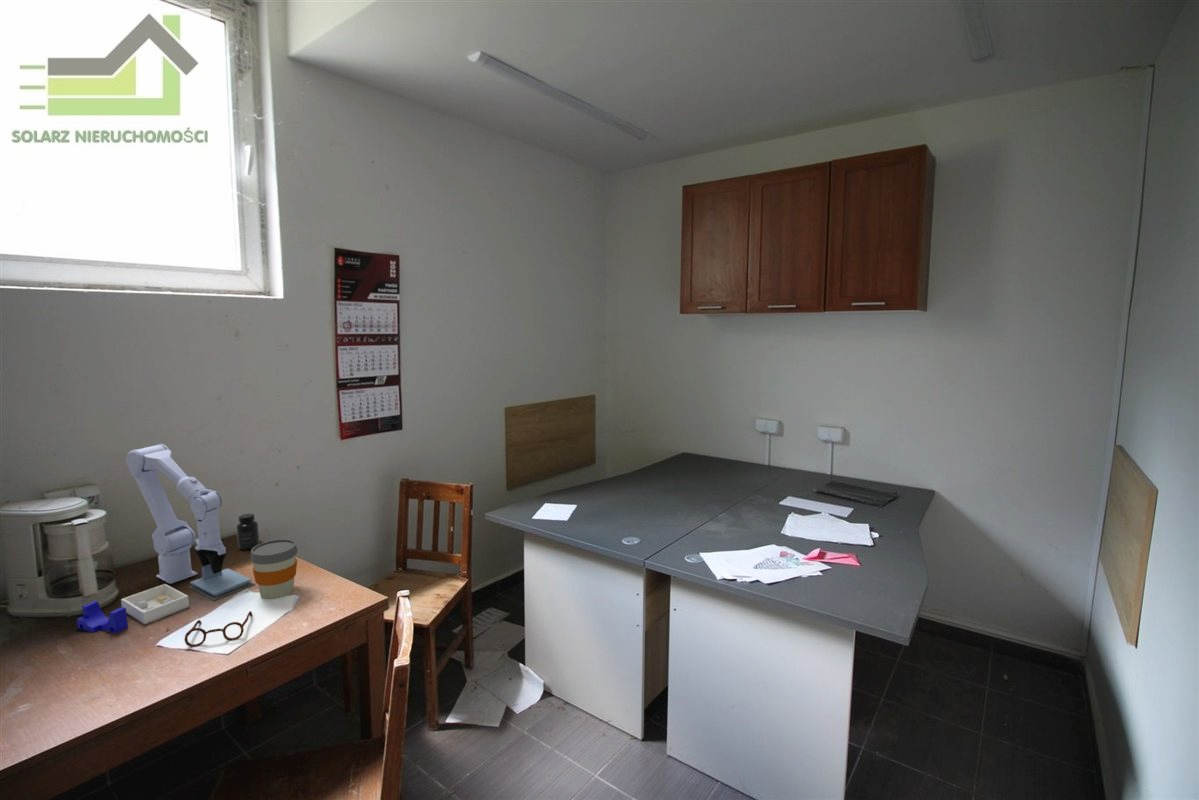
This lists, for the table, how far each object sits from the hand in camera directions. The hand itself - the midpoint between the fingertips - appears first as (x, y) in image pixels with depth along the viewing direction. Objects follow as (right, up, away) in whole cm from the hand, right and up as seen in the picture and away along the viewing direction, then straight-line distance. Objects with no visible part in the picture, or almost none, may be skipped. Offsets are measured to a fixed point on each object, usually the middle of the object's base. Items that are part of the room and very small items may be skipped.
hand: (212, 570), depth 178 cm
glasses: (+20, -9, -26) cm, 34 cm away
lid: (+4, -3, -2) cm, 6 cm away
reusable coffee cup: (+24, -6, -5) cm, 25 cm away
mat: (+4, -5, -2) cm, 7 cm away
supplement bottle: (-6, 0, +28) cm, 28 cm away
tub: (-6, -6, -16) cm, 18 cm away
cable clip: (-12, -8, -26) cm, 30 cm away
